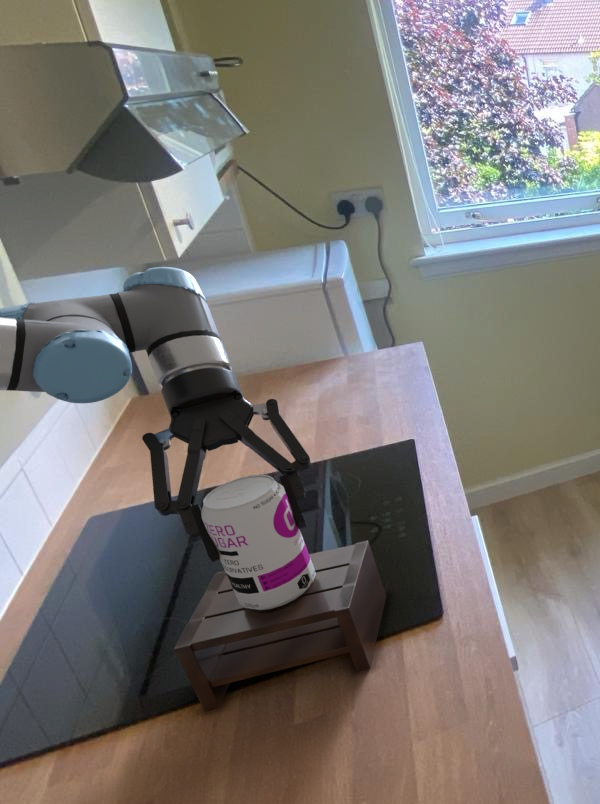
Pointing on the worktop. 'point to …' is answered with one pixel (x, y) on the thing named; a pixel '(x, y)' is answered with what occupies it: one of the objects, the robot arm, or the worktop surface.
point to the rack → (284, 625)
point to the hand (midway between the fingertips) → (259, 540)
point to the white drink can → (258, 541)
